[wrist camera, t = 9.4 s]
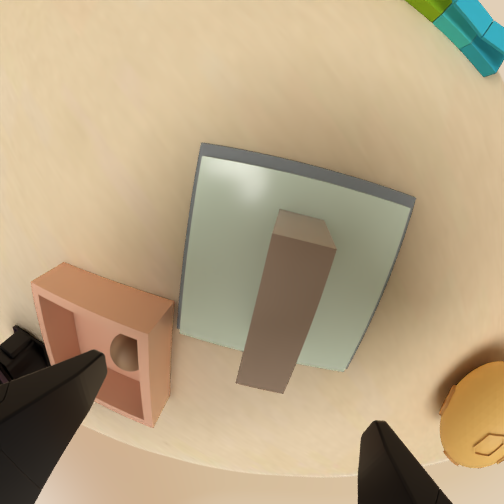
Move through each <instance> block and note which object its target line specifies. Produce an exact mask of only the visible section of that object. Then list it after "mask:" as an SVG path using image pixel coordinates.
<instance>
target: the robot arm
mask: <svg viewBox="0 0 504 504" xmlns="http://www.w3.org/2000/svg"><path fill="white" fill-rule="evenodd" d="M13 330H14V334H13V335H12V336H10V337H9V338H8V339H7V340H6V341H4V342H3V343H2V344H1V345H0V504H34V503H35V501H36V499H37V498H38V496H39V494H40V492H41V489H42V488H43V486H44V485H45V483H46V481H47V479H48V478H49V476H50V474H51V473H52V471H53V469H54V467H55V465H56V464H57V462H58V461H59V459H60V457H61V455H62V454H63V452H64V450H65V449H66V447H67V446H68V444H69V442H70V441H71V439H72V437H73V435H74V434H75V432H76V431H77V429H78V428H79V426H80V424H81V423H82V421H83V420H84V418H85V417H86V415H87V413H88V412H89V410H90V408H91V406H92V404H93V402H94V400H95V398H96V396H97V394H98V392H99V390H100V388H101V386H102V384H103V382H104V380H105V378H106V376H107V364H106V358H105V355H104V353H102V352H100V351H98V350H95V349H93V350H90V351H87V352H85V353H82V354H80V355H77V356H75V357H72V358H70V359H67V360H65V361H62V362H60V363H57V364H54V365H52V366H51V364H50V361H49V358H48V355H47V352H46V348H45V346H44V345H43V343H41V342H40V341H38V340H37V339H35V338H33V337H32V336H30V335H29V334H28V333H26V332H25V331H23V330H22V329H20V328H19V327H17V326H16V325H15V326H14V327H13ZM358 504H452V502H451V501H450V500H449V499H448V498H447V496H446V495H445V494H444V493H443V492H442V490H441V489H439V487H438V486H437V484H436V483H435V482H434V481H433V479H432V478H431V477H430V476H429V475H428V473H427V472H426V471H425V469H424V468H423V467H422V466H421V465H420V463H419V462H418V461H417V460H416V458H415V457H414V456H413V455H412V453H411V452H410V451H409V450H408V448H407V447H406V446H405V445H404V443H403V442H402V441H401V440H400V438H399V437H398V436H397V435H396V434H395V432H394V431H393V430H392V429H391V427H390V426H389V425H388V424H387V422H385V421H377V420H376V421H373V422H372V423H371V424H370V426H369V427H368V428H367V429H366V430H365V432H364V433H363V434H362V437H361V444H360V457H359V468H358Z"/></svg>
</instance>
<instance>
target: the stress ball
mask: <svg viewBox="0 0 504 504" xmlns="http://www.w3.org/2000/svg"><path fill="white" fill-rule="evenodd" d="M439 415H441V421H440V437H441V442H442V445H443V447H444V451H443V452H444V454H445V455H446V456H447V457H448V458H449V460H450V461H452V462H453V463H454V464H455V465H457V466H458V465H459V464H460V465H462V466H465V467H469V468H482V467H486V466H490V465H492V464H495V463H497V464H499V463H500V462H502V461H504V361H497V362H491V363H487V364H484V365H482V366H480V367H478V368H476V369H474V370H473V371H471V372H470V373H469V374H468V375H466V376H465V377H464V378H463V379H462V380H461V381H460V382H459V383H458V384H457V385H453V386H452V388H451V389H450V391H449V393H448V395H447V397H446V399H445V401H444V403H443V405H442V407H441V409H440V412H439Z"/></svg>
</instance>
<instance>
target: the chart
mask: <svg viewBox="0 0 504 504" xmlns="http://www.w3.org/2000/svg"><path fill="white" fill-rule="evenodd" d="M405 1H406V2H408V3H409V4H410V5H412V6H413V7H414V8H415V9H417V10H418V11H419V12H420V13H421V14H423V15H424V16H425V17H426V18H427V19H428V20H429V21H431V22H433V21H434V20H435V19H436V20H435V21H434V22H433V24H434V25H435V26H436V27H437V28H438V29H439V30H440V31H441V32H443V33H444V34H445V35H446V36H447V37H448V38H449V39H450V40H451V41H452V42H453V43H454V44H455V45H456V46H457V47H458V49H460V51H461V52H462V53H463V54H464V55H465V56H466V57H467V58H468V59H469V61H470V62H471V63H472V64H473V65H474V66H475V68H476V69H477V70H478V71H479V72H480V74H481V75H482V76H483V77H485V76H488V75H492V74H495V73H496V72H497V71H498V69H499V67H500V65H501V64H502V62H503V60H504V27H503V26H501V25H500V24H498V23H497V22H495V21H493V19H492V17H491V16H490V15H489V13H488V12H487V11H486V10H485V8H484V7H483V6H482V5H481V3H480V2H479V1H478V0H405ZM492 21H493V22H492Z"/></svg>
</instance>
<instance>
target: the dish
mask: <svg viewBox="0 0 504 504" xmlns="http://www.w3.org/2000/svg"><path fill="white" fill-rule="evenodd" d="M31 287H32V293H33V298H34V303H35V308H36V312H37V317H38V321H39V325H40V329H41V333H42V337H43V340H44V344H45V347H46V351H47V354H48V357H49V360H50V363H51V366H52V365H54V364H57V363H60V362H62V361H65V360H67V359H70V358H72V357H75V356H77V355H80V354H82V353H85V352H87V351H90V350H93V349H95V350H98V351H100V352H102V353H104V355H105V358H106V364H107V376H106V378H105V380H104V382H103V384H102V386H101V388H100V390H99V392H98V394H97V396H96V398H95V400H94V401H95V402H97V403H99V404H101V405H103V406H105V407H107V408H109V409H111V410H113V411H115V412H117V413H119V414H121V415H123V416H126V417H128V418H130V419H132V420H135V421H137V422H139V423H142V424H144V425H147V426H149V427H152V428H154V426H155V424H156V422H157V420H158V418H159V416H160V414H161V412H162V410H163V408H164V406H165V404H166V402H167V400H168V398H169V396H170V369H171V345H172V328H173V313H174V301H172V300H169V299H166V298H163V297H159V296H156V295H153V294H150V293H147V292H144V291H141V290H138V289H135V288H132V287H129V286H126V285H123V284H121V283H118V282H115V281H112V280H109V279H107V278H104V277H101V276H98V275H96V274H93V273H90V272H88V271H85V270H82V269H80V268H77V267H75V266H72V265H70V264H67V263H65V262H63V263H62V264H60V265H58V266H57V267H55V268H53V269H51V270H50V271H48V272H46V273H45V274H43V275H41V276H40V277H38V278H36V279H35V280H33V281H31ZM119 334H123V335H126V336H128V337H131V338H133V339H136V340H137V348H138V365H139V370H137V371H132V372H130V371H125V370H122V369H120V368H119V367H118V366H116V365H115V363H114V362H113V360H112V358H111V355H110V345H111V342H112V341H113V339H114V338H115V337H116V336H117V335H119Z"/></svg>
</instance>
